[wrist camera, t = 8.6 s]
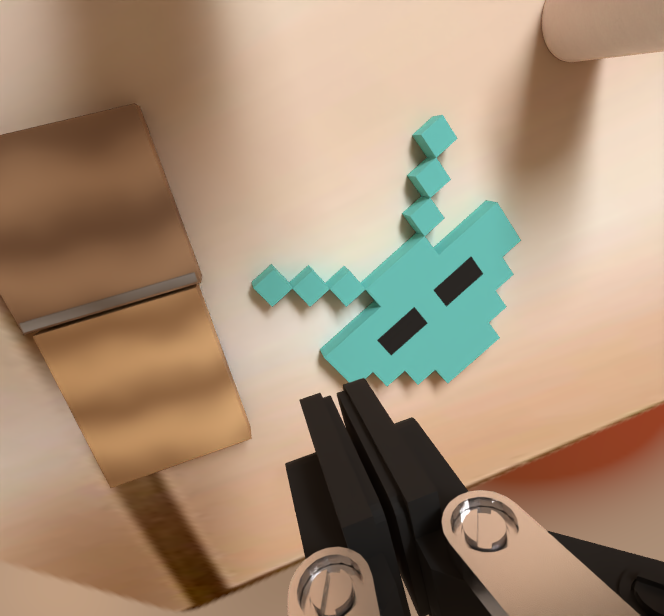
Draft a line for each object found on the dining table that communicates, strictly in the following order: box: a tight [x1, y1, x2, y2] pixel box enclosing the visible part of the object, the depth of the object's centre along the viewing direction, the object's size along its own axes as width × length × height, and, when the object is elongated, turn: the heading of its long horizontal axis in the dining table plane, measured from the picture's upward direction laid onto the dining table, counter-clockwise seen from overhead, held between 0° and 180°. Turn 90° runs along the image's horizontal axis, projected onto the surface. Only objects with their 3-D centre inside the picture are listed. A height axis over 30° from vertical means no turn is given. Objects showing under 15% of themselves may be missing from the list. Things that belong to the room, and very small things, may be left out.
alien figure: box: [252, 115, 521, 386], centre depth 40 cm, size 20×2×20 cm
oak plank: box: [33, 283, 252, 488], centre depth 36 cm, size 14×12×2 cm
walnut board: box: [0, 104, 202, 335], centre depth 31 cm, size 13×13×2 cm
